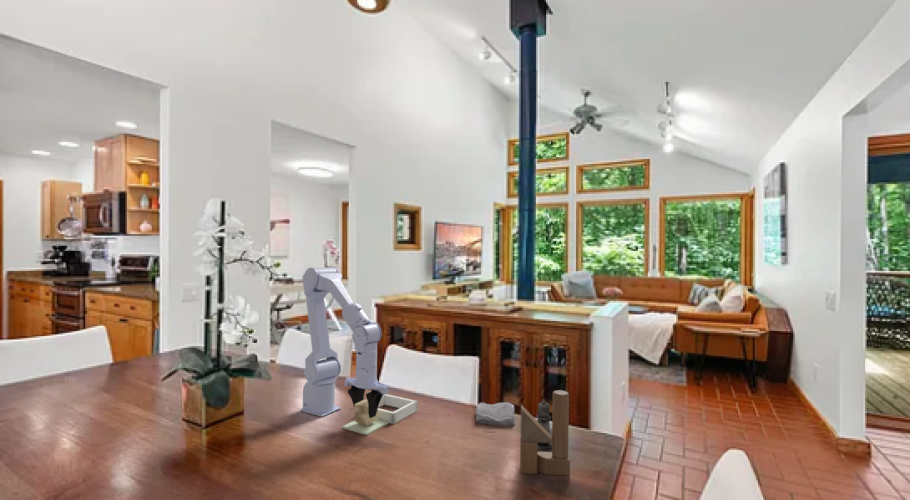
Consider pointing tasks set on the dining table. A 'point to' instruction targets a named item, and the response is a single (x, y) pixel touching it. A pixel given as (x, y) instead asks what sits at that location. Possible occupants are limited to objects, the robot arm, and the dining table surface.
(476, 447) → the dining table surface
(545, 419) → the salt shaker
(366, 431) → the pad
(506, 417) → the stone block
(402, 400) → the box
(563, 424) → the wooden block
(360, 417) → the wood block
